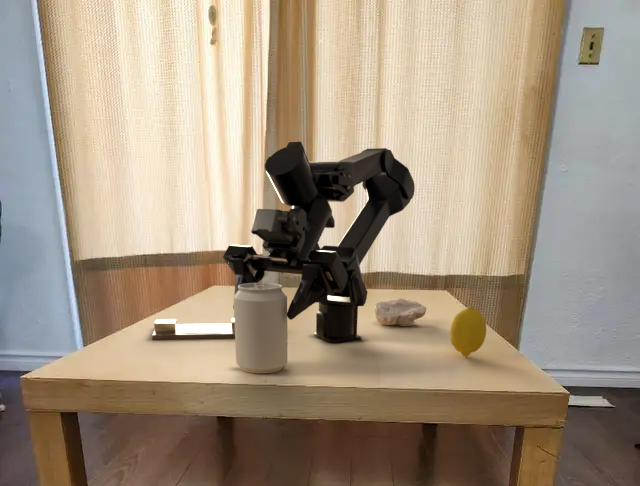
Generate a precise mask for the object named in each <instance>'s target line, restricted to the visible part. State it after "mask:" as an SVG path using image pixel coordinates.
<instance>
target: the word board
mask: <svg viewBox="0 0 640 486" xmlns="http://www.w3.org/2000/svg"><path fill="white" fill-rule="evenodd" d="M177 321H178V320H177V319H176V318H167V319H166V318H165V319H164V318H163V319H162V318H161V319H160V318H159V319H157V318H156V319H155V321H154V323H153V326H154V327H153V329H154V330H153V333H152V335H151V339H152V340H155V341H156V340H205V339H206V340H207V339H209V340H210V339H235V320H234V318H233V317H231V318H230V323H178V322H177Z"/></svg>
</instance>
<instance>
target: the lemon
mask: <svg viewBox="0 0 640 486" xmlns="http://www.w3.org/2000/svg"><path fill="white" fill-rule="evenodd" d="M486 335H487V322H486V319H485V317H484V315H483V314H482V312H481V311H479V310H477V309H475V308H474V306H471V305H470V306H468V307H467V308H464V309H461V310H460V311H459V312H457V313H456V315H454V317H453V319H452V321H451V324H450V330H449V338H450V343H451V345H452V347H453V348H454V349H455V350H456V351H457V352H459V353H460V354H461V355H462V356H463V357H468V356H470V355H471V354H472V353H475V352H476V351H478V350H479V349H480V348H482V346H483V344H484V342H485V339H486Z"/></svg>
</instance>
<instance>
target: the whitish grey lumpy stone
mask: <svg viewBox="0 0 640 486" xmlns="http://www.w3.org/2000/svg"><path fill="white" fill-rule="evenodd" d="M426 312H427V307H426V306H424V305H423V304H422V303H420V302H418V301H416V300H413V299H412V300H411V299H405V298H394V299H389V300H386V301H379V302H376V303H375V307H374V314H375V319H376V322H377V323H379V324H381V325H384V326H393V325H398V326H401V327H411V326H412V325H414V323H415V321H417V320H418V319H421V318H423V317H424V316H425V315H426Z"/></svg>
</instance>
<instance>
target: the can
mask: <svg viewBox="0 0 640 486" xmlns="http://www.w3.org/2000/svg"><path fill="white" fill-rule="evenodd" d="M238 288H239V291H238V292H237V293H236V294H235V293H234V294H235V296H233V305H234V309H233V314H234V315H233V317H234V320H235V338H234V342H235V343H234V344H235V345H234V346H235V364H236V365H237V366H239V367H240V368H241V370H242V371H243V372H246V373H251V374H271V373H276V372H280V371H281V370H282V369H283V368H284V367H285V366H286V365H287V364H288V317H287V312H288V296H287V295H286V294H285V292H284V291H283V285H282V284H279V283H271V282H258V283H246V284H241V285H238Z"/></svg>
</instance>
